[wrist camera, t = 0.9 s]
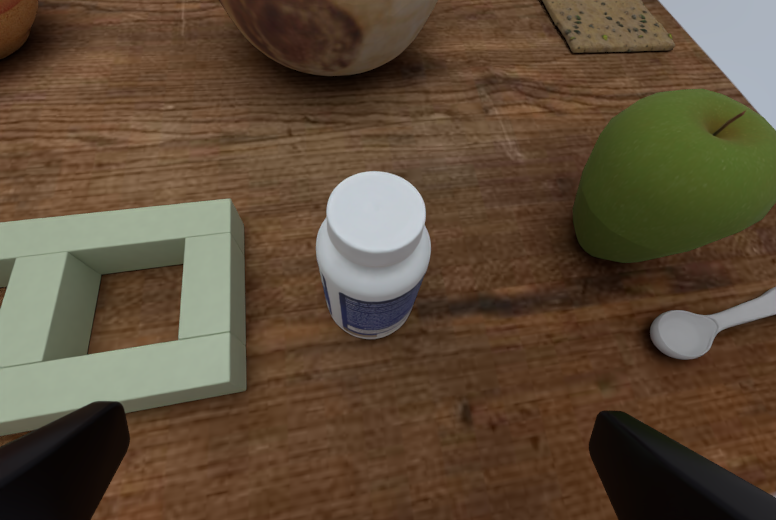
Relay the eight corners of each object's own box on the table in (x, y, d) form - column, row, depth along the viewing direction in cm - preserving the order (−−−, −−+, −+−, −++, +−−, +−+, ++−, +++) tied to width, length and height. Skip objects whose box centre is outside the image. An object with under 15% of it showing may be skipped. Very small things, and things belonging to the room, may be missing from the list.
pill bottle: (429, 298, 23) (470, 208, 15) (371, 359, 21) (381, 297, 13) (368, 246, 25) (373, 137, 16) (308, 300, 23) (279, 207, 14)
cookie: (571, 53, 37) (576, 44, 36) (531, -11, 42) (535, -20, 41) (674, 50, 38) (681, 42, 38) (623, -11, 44) (628, -20, 43)
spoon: (630, 324, 23) (654, 313, 21) (756, 286, 26) (786, 273, 25) (658, 370, 22) (686, 362, 20) (787, 324, 25) (821, 314, 23)
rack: (246, 390, 20) (230, 381, 17) (-187, 470, 17) (-289, 474, 14) (244, 224, 25) (230, 197, 22) (-92, 263, 22) (-155, 237, 19)
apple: (680, 263, 26) (888, 142, 16) (598, 317, 23) (781, 215, 13) (593, 178, 29) (720, 33, 19) (514, 218, 27) (610, 75, 17)
